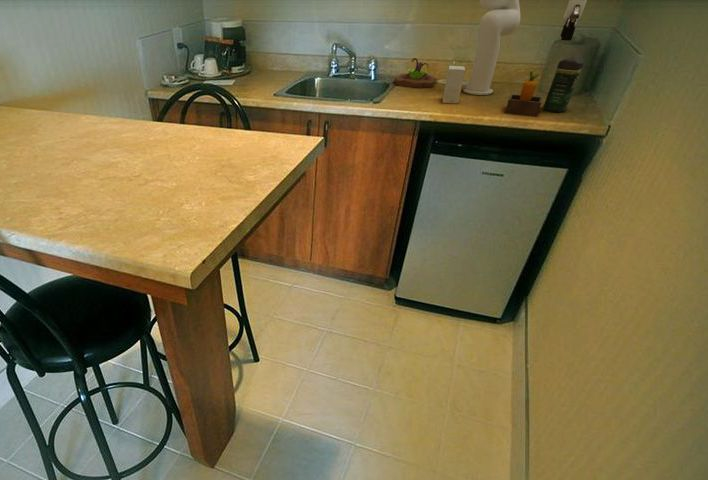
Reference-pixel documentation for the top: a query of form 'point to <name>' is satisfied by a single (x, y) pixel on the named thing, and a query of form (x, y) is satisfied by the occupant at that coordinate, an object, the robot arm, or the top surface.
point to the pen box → (523, 105)
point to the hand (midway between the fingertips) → (565, 38)
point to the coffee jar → (563, 84)
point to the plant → (415, 77)
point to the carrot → (529, 87)
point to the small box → (453, 84)
